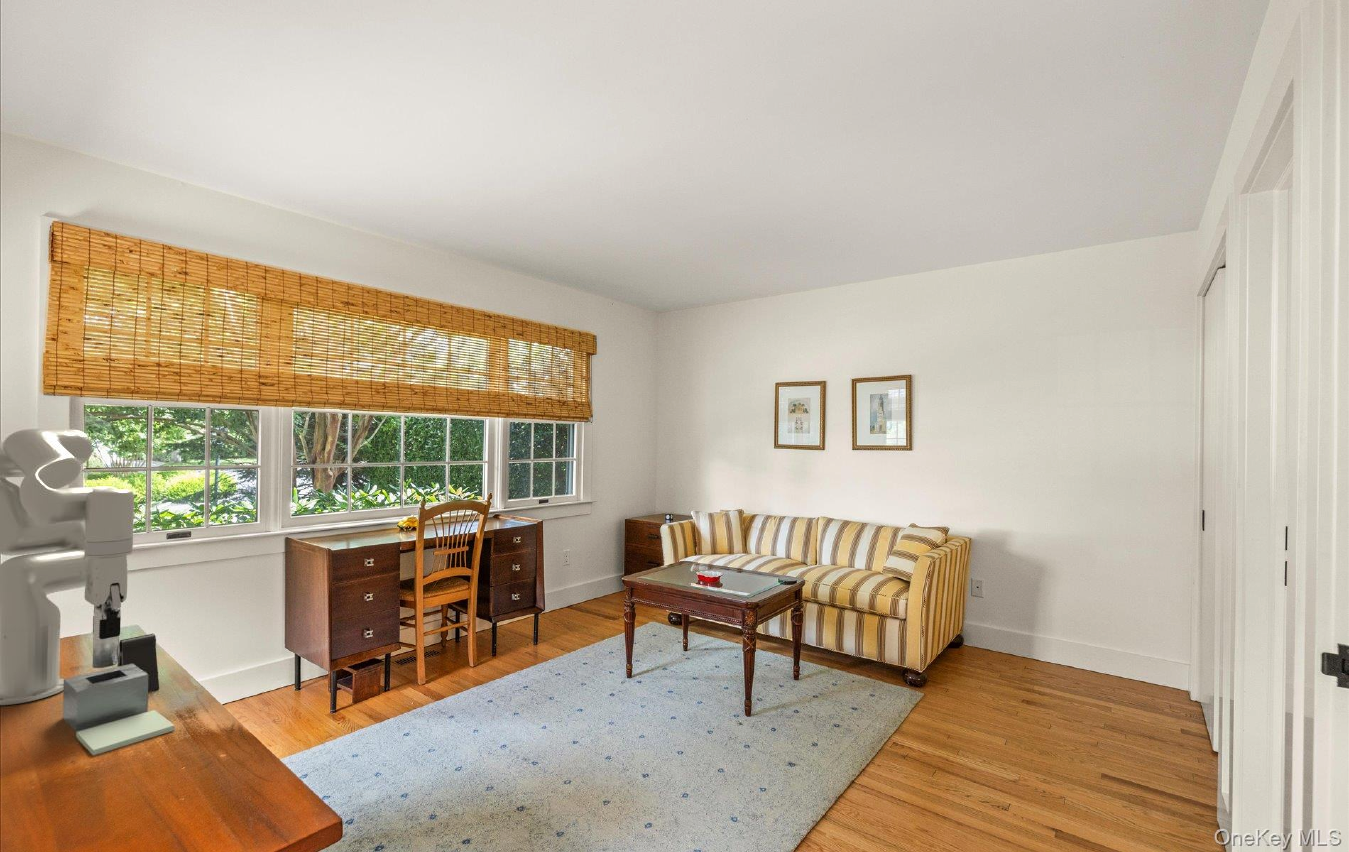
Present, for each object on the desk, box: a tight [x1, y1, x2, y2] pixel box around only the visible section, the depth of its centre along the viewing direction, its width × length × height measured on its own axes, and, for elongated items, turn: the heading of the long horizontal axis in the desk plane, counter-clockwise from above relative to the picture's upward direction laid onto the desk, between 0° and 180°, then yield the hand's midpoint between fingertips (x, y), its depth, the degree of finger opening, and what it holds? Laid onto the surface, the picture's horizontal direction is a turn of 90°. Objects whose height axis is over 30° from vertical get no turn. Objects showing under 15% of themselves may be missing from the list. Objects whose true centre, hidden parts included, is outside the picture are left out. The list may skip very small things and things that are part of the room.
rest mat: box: [75, 709, 176, 756], centre depth 121 cm, size 12×12×1 cm
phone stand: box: [116, 633, 160, 693], centre depth 143 cm, size 9×6×12 cm, turn 54°
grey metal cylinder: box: [92, 606, 120, 669], centre depth 129 cm, size 4×4×12 cm
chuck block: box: [62, 664, 149, 733], centre depth 129 cm, size 11×11×8 cm
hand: (106, 634), depth 129 cm, fingers closed on grey metal cylinder, 4 cm apart
